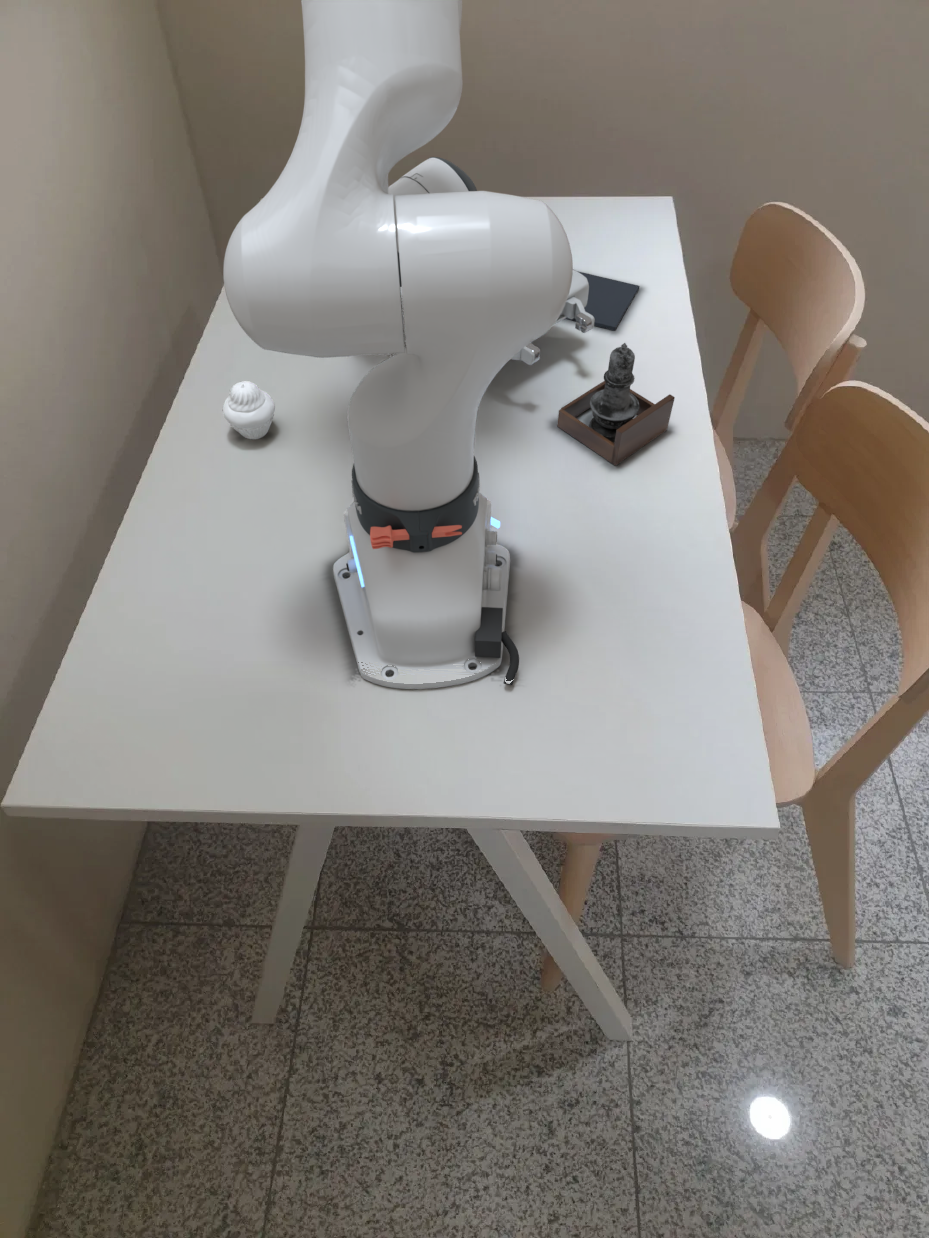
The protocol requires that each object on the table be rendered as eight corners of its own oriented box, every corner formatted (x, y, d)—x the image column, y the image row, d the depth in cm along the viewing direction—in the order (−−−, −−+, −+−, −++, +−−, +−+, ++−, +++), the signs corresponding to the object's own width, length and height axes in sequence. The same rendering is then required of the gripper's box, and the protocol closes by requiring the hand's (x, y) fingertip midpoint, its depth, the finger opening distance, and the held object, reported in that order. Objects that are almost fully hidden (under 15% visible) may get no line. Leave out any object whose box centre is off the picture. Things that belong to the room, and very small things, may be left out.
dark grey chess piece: (634, 413, 104) (650, 328, 95) (635, 445, 101) (652, 360, 91) (586, 410, 105) (598, 326, 95) (586, 442, 101) (598, 357, 92)
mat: (614, 331, 115) (615, 327, 114) (539, 312, 117) (539, 308, 117) (638, 289, 121) (639, 285, 120) (567, 272, 123) (567, 268, 123)
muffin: (269, 451, 101) (257, 404, 95) (221, 444, 102) (207, 397, 96) (287, 418, 104) (276, 371, 99) (241, 411, 105) (227, 364, 100)
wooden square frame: (556, 426, 103) (559, 392, 99) (608, 392, 107) (613, 359, 103) (615, 466, 99) (621, 433, 95) (667, 430, 102) (675, 397, 98)
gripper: (422, 303, 101) (501, 355, 94) (542, 241, 109) (622, 285, 103) (424, 348, 106) (500, 400, 99) (539, 286, 114) (615, 330, 108)
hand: (563, 341), depth 101 cm, fingers open, 8 cm apart
